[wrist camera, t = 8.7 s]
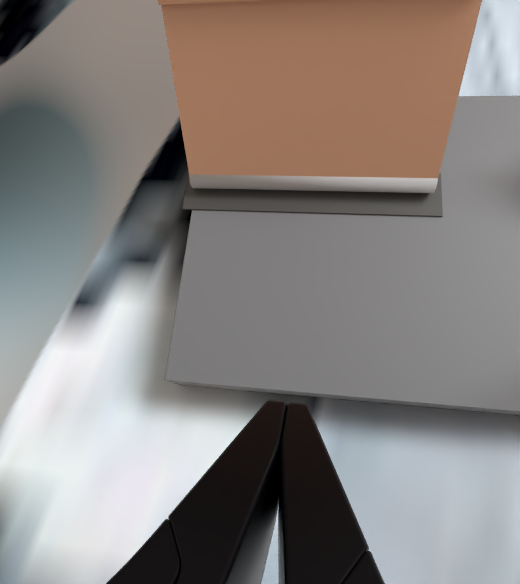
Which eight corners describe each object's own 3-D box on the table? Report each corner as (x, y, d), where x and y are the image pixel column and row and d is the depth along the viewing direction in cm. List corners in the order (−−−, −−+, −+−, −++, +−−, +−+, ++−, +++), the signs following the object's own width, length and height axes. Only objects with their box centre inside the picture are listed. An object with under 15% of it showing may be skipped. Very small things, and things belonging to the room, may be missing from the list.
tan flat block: (434, 199, 19) (500, -63, 13) (190, 194, 21) (150, -42, 15) (428, 184, 21) (486, -62, 15) (198, 180, 22) (164, -43, 16)
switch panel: (657, 427, 18) (711, 427, 16) (171, 384, 21) (153, 378, 19) (601, 128, 23) (635, 93, 20) (211, 128, 26) (201, 97, 24)
